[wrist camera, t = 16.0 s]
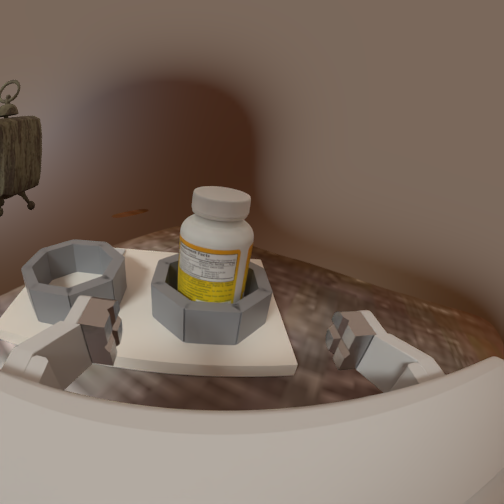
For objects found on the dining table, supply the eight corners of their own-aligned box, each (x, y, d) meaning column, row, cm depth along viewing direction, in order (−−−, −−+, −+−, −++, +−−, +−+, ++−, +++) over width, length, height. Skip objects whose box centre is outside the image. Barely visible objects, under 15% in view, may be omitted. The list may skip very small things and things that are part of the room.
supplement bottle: (209, 338, 19) (223, 208, 15) (163, 303, 22) (166, 187, 18) (254, 310, 23) (275, 199, 19) (209, 283, 26) (221, 181, 22)
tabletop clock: (43, 208, 40) (49, 74, 30) (12, 224, 32) (15, 71, 22) (2, 203, 40) (4, 87, 29) (-26, 217, 31) (-26, 89, 21)
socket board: (-2, 338, 14) (-19, 296, 12) (65, 252, 28) (62, 219, 27) (293, 375, 19) (309, 333, 17) (259, 268, 33) (265, 235, 31)
